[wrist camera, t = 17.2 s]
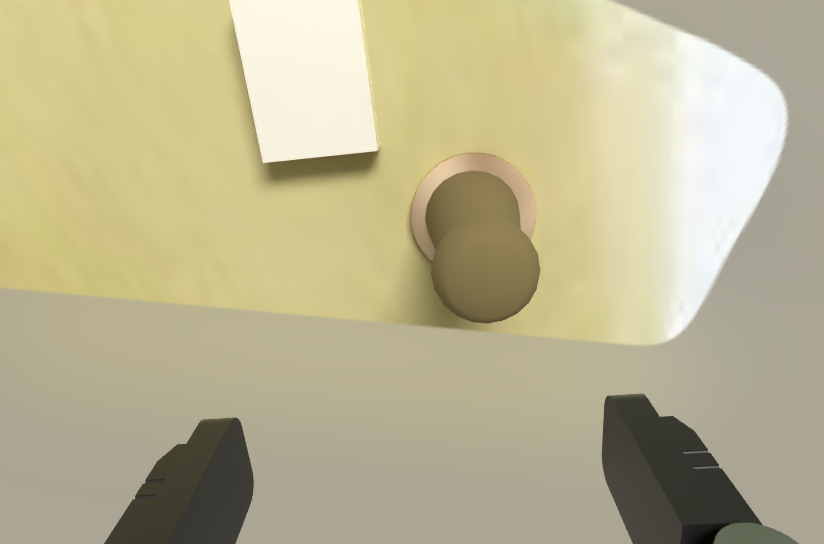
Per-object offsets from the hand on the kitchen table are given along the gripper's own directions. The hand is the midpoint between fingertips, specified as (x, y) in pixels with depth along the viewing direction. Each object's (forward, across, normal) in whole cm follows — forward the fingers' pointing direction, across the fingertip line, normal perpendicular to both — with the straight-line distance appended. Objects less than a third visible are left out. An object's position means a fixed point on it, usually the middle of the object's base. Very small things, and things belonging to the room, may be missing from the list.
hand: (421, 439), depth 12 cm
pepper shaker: (+25, -3, +2) cm, 25 cm away
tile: (+24, +6, -3) cm, 25 cm away
